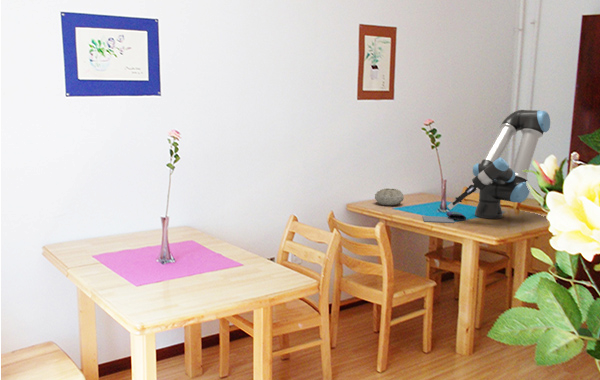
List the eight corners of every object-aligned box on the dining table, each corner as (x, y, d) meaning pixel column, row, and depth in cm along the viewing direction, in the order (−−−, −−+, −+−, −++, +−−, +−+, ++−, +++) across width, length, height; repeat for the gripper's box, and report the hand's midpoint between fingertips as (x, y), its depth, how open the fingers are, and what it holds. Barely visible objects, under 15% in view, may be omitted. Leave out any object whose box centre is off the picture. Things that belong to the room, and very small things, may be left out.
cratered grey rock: (369, 202, 368) (370, 187, 366) (393, 201, 374) (394, 185, 373) (384, 208, 351) (384, 191, 350) (409, 206, 358) (410, 190, 357)
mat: (451, 218, 326) (451, 217, 326) (454, 223, 313) (454, 222, 313) (422, 216, 328) (422, 215, 328) (424, 221, 315) (424, 220, 315)
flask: (465, 220, 321) (461, 216, 331) (466, 215, 320) (461, 211, 331) (449, 218, 321) (444, 214, 331) (450, 213, 320) (445, 209, 331)
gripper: (484, 187, 304) (450, 215, 314) (489, 184, 316) (456, 210, 326) (475, 176, 306) (441, 204, 316) (479, 173, 317) (447, 200, 327)
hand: (449, 207), depth 321 cm, fingers closed
